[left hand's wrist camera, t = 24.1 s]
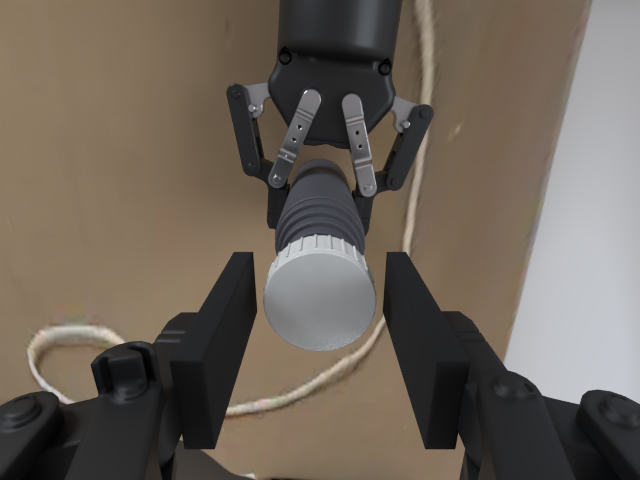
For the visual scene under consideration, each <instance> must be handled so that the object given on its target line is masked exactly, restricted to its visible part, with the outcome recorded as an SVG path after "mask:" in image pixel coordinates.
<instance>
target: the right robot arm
mask: <svg viewBox="0 0 640 480" xmlns="http://www.w3.org/2000/svg"><path fill="white" fill-rule="evenodd" d="M402 1H403V0H280V10H279V29H278V49H277V61H276V65H275V68H274V70H273V72H272V74H271V75H270V77H269V80H268V82H265V83H258V84H252V85H246V86H243V85H239V84H232V85H230V86H229V87H228V89H227V98H228V103H229V107H230V112H231V117H232V121H233V126H234V130H235V135H236V139H237V144H238V149H239V153H240V158H241V162H242V167H243V171H244V172H245V173H246V174H247V175H248V176H255V177H257V178H259V179H261V180H263V181H264V182H265V183H266V184H267V186H268V189H269V192H268V212H267V223H268V226H269V228H272V229H275V233H276V228H277V225H278V222H279V219H280V217H281V214H282V211H283V208H284V206H285V203H286V200H287V197H288V194H289V191H290V184H287V180H288V175H289V173H290V171H291V168H292V166H293V164H294V162H295V160H296V157H297V155H298V153H299V151H300V148H301V146H302V144H303V143H304V145H313V146H316V145H322V144H329V145H331V146H334V147H337V148H342V149H349V153H350V157H351V161H352V165H353V170H354V174H355V179H356V189H355V191H354V190H352V197H353V200H354V203H355V205H356V208H357V211H358V214H359V217H360V219H361V222H362V225H363V228H364V234H365V236H366V234H367V233H368V230H369V223H370V216H371V210H372V203H373V199H374V197H375V196H376V195H377V194H378V193H380V192H383V191H387V190H392V191H396V190H399V189H400V188H401V187H402V185H403V183H404V181H405V179H406V176H407V174H408V172H409V170H410V167H411V165H412V163H413V160H414V158H415V156H416V154H417V151H418V149H419V147H420V145H421V142H422V140H423V138H424V135H425V133H426V131H427V129H428V126H429V124H430V122H431V120H432V117H433V109H432V108H431V107H430V106H429V105H425V104H416V103H413V102H410V101H408V100H405V99H403V98H400V97H398V96H396V92H395V88H394V85H393V82H392V66H393V59H394V53H395V46H396V40H397V33H398V27H399V20H400V14H401V7H402ZM270 97H271V99H272V100H273V102H274V104H275V105H276V107H277V109H278V111H279V112H280V114H281V116H282V117H283V119H284V121H285V123H286V124H287V126H288V128H289V129H288V131H287V134H286V136H285V138H284V141H283V143H282V145H281V148H280V150H279V153H278V156H277V158H276V160H275V163H273V162H271V161H269V160H266V159H265V158H264V153H263V148H262V143H261V138H260V133H259V128H258V123H257V118H256V117H260V116H261V115H262V114H263V113H264V104H265V101H266V100H267V99H268V98H270ZM389 111H391V112H392V113H393V115H394V121H393V127H394V129H395V130H396V131H397V132H398V134H397V137H396V139H395V142H394V144H393V146H392V149H391V151H390V154H389V156H388V159H387V161H386V163H385V166H384V168H383V171H379V172H375V173H374V171H373V166H372V157H371V152H370V147H369V142H368V137H367V135H368V134H369V133H370V132H371V131H372V130H373V128H374V127H375V126H376V125H377V124H378V123H379V122H380V121H381V120H382V118H383V117H384V116H385V115H386V114H387V113H388V112H389Z"/></svg>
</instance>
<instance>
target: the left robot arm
mask: <svg viewBox="0 0 640 480" xmlns="http://www.w3.org/2000/svg"><path fill="white" fill-rule="evenodd" d="M256 314H257V301H256V287H255V273H254V259H253V252H234V253H233V255H232V256H231V258H230V260H229V261H228V263H227V265H226V266H225V268H224V270H223V272H222V273H221V275H220V277H219V278H218V280H217V282H216V283H215V285H214V287H213V288H212V290H211V292H210V293H209V295H208V297H207V298H206V300H205V302H204V303H203V305H202V307H201V308H200V310H199V312H198V313H180V314H178V315H177V316H175V317H174V318H173V319H171V320H170V321H168V323H167V324H166V326H165V327H164V328H163V330H162V331H161V334H159V336H158V337H157V338H156V340H155V343H153V344H150V343H147V342H143V341H135V342H127V343H123V344H119V345H116V346H114V347H112V348H110V349H107V350H106V351H104V352H103V353H101V354H100V355H99V356H97V357H96V358H95V360H94V361H93V362H92V363H91V368H92V372H93V375H94V379H95V383H96V386H97V390H98V394H99V395H98V397H96V398H93V399H90V400H85V401H81V402H77V403H72V404H68V405H63V404H60V402H59V398H58V397H57V396H56V395H55V394H54V393H52V392H45V391H40V392H34V393H29V394H26V395H23V396H20V397H17V398H15V399H13V400H11V401H9V402H7V403H5V404H3V405H2V406H0V480H176V471H177V459H176V453H175V448H176V446H177V444H178V441H179V439H180V437H181V434H182V436H183V442H184V447H185V449H215V446H216V443H217V440H218V437H219V433H220V430H221V427H222V424H223V420H224V417H225V414H226V411H227V408H228V404H229V401H230V398H231V395H232V391H233V388H234V385H235V382H236V378H237V375H238V372H239V369H240V365H241V362H242V359H243V356H244V352H245V349H246V346H247V343H248V339H249V336H250V333H251V330H252V326H253V323H254V320H255V317H256ZM383 314H384V317H385V320H386V323H387V326H388V330H389V333H390V336H391V339H392V343H393V346H394V349H395V352H396V356H397V359H398V362H399V365H400V369H401V372H402V375H403V378H404V382H405V385H406V388H407V391H408V395H409V398H410V401H411V404H412V407H413V411H414V414H415V417H416V420H417V424H418V427H419V430H420V433H421V437H422V440H423V443H424V446H425V449H455V447H456V442H457V436H458V433H459V435H460V437H461V440H462V442H463V444H464V447H465V453H464V458H463V463H462V469H461V474H460V479H459V480H640V404H638V403H636V402H635V401H633V400H631V399H629V398H627V397H625V396H622V395H620V394H617V393H614V392H611V391H603V390H592V391H587V392H586V393H585V394H584V395H583V396H582V398H581V402H580V405H579V404H574V403H570V402H566V401H561V400H557V399H553V398H549V397H545V396H542V394H541V393H540V391H539V390H538V388H537V387H536V386H535V385H534V384H533V383H532V382H530V381H529V380H528V379H527V378H525V377H523V376H521V375H519V374H517V373H515V372H511V371H508V370H507V369H506V368H505V366H504V365H503V363H502V362H501V361H500V359H499V358H498V356H497V355H496V354H495V352H494V351H493V349H492V348H491V347H490V345H489V344H488V342H487V341H485V338H484V337H483V335H482V334H481V333H479V330H478V328H477V327H476V326H475V324H474V323H473V321H472V320H471V319H469V318H468V317H466V316H465V315H463V314H462V313H461V312H459V311H441V310H440V308H439V307H438V305H437V303H436V302H435V300H434V298H433V297H432V295H431V293H430V292H429V290H428V288H427V287H426V285H425V283H424V282H423V280H422V278H421V277H420V275H419V273H418V272H417V270H416V268H415V266H414V265H413V263H412V261H411V260H410V258H409V256H408V255H407V253H406V252H387V259H386V273H385V287H384V301H383Z"/></svg>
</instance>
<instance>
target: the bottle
mask: <svg viewBox="0 0 640 480" xmlns="http://www.w3.org/2000/svg"><path fill="white" fill-rule="evenodd" d="M314 234H317V235H324V236H328V235H331V237H335V238H338V239H341V240H342V239H344V241H345V242H347V243H349V244H350V245H352V246H355V247H356V250H357V251H358V252H359V253H360V254H361V255H363V254H364V249H365V234H364V228H363V225H362V222H361V219H360V217H359V214H358V211H357V208H356V205H355V203H354V200H353V197H352V194H351V192H350V189H349V186H348V183H347V181H346V178H345V175H344V173H343V171H342V170H341V169H340V167H338V166H337V165H336V164H335V163H333V162H331V161H329V160H325V159H315V160H311V161H309V162H307V163H305V164H304V165H303V166H301V168H300V169H299V170H298V171H297V173H296V175H295V178H294V181H293V183H292V186H291V189H290V192H289V194H288V197H287V200H286V203H285V206H284V208H283V211H282V214H281V217H280V219H279V222H278V225H277V228H276V233H275V250H276V254H277V256H278V253H279V252H281V251H282V250H283V249H284V248H286V247H287V246H288V244H289V243H293V242H295V241H297V240H299V239H300V238H301V237H303V238H305V237H309V236H314Z"/></svg>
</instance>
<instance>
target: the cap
mask: <svg viewBox="0 0 640 480" xmlns="http://www.w3.org/2000/svg"><path fill="white" fill-rule="evenodd" d="M373 283H374V280H373V277H372V273H371V270H370V267H369V266H367V264H366V261H365V258H364V255H361V254H360V253H359V252H358V251H357V250H356V247H355V246H352V245H350V244H349V243H347V242H345V241H344V239H342V240H341V239H338V238H335V237H331V235H328V236H324V235H317V234H314V236H309V237H305V238H303V237H301V238H300V239H299V240H297V241H295V242H293V243H289V244H288V246H287V247H286V248H284V249H283V250H282V251H281V252H279V253H278V256H277V258H276V260H275V261H274V262H272V264H271V268H270V271H269V274H268V277H267V281H266V284H265V287H264V291H265V293H264V310H265V315H266V317H267V320H268V322H269V323H270V325H271V327H272V328H273V329H274V331H275V332H276V333H277V334H278V335H279V336H280V337H281V338H283V339H284V340H285V341H287V342H288V343H290V344H292V345H294V346H296V347H299V348H302V349H306V350H312V351H328V350H334V349H338V348H341V347H344V346H346V345H348V344H350V343H352V342H353V341H355V340H356V339H357V338H359V337H360V336H361V335H362V334H363V333H364V332H365V331H366V329H367V328H368V326H369V325H370V323H371V321H372V319H373V317H374V314H375V309H376V291H375V288H374V284H373Z"/></svg>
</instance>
